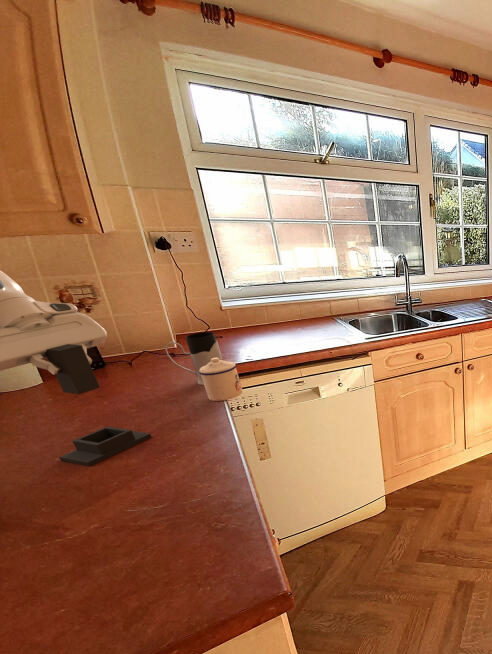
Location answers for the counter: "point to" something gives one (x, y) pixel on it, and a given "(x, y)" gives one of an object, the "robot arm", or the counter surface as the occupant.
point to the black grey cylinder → (200, 351)
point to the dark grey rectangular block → (73, 369)
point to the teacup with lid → (221, 380)
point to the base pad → (103, 445)
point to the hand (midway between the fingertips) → (74, 367)
